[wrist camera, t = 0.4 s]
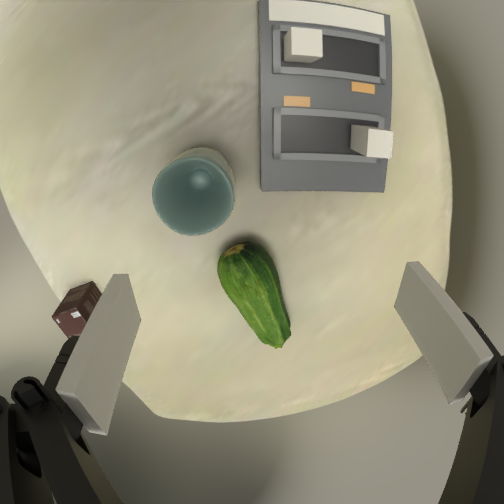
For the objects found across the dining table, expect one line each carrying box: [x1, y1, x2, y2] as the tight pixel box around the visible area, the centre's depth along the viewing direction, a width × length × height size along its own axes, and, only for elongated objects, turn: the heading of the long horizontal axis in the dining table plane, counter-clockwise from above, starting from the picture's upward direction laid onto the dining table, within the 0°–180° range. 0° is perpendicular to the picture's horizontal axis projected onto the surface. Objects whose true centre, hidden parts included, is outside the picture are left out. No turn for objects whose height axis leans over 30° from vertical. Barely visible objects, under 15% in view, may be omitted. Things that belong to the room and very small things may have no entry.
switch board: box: [258, 0, 392, 193], centre depth 30 cm, size 24×16×3 cm, turn 1°
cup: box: [152, 147, 235, 236], centre depth 31 cm, size 8×8×10 cm
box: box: [52, 281, 102, 339], centre depth 41 cm, size 6×6×7 cm
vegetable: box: [217, 242, 291, 349], centre depth 42 cm, size 7×7×20 cm
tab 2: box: [350, 124, 393, 159], centre depth 30 cm, size 3×3×5 cm
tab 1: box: [283, 27, 323, 63], centre depth 25 cm, size 3×3×5 cm
